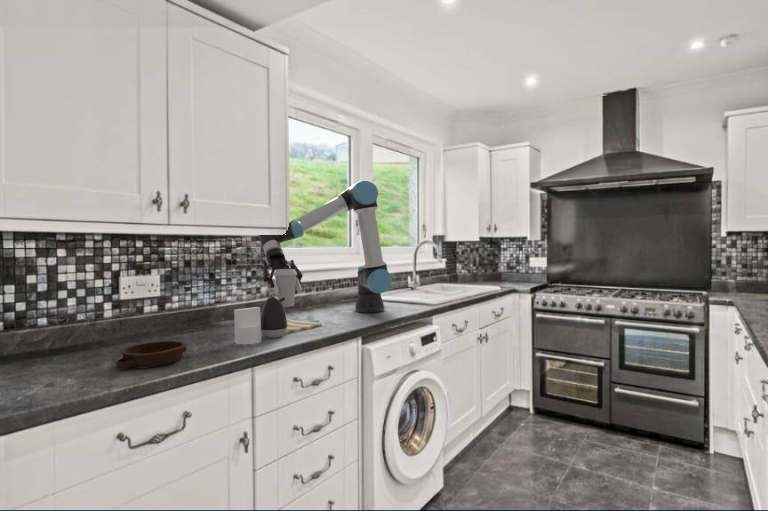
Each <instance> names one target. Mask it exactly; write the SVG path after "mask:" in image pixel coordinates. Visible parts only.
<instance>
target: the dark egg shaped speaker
mask: <svg viewBox="0 0 768 511" xmlns="http://www.w3.org/2000/svg"><path fill="white" fill-rule="evenodd" d="M284 300H285V298H284V297H283V298H281V299H278V298H277V297H276V296H270V297H268V298H267V299H266V300H265V302H264V304H263V305H262V306H263V307H262V309H261V311H260V322H261V335H262V336H264V338H267V339H279V338H282V337H283V336H284V335H286V334H285V332H286V328H287V320H288V318H287V314H286V310H285V308H284V307H283V305H282V303H281V302H283V301H284Z"/></svg>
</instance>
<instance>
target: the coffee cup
mask: <svg viewBox="0 0 768 511" xmlns="http://www.w3.org/2000/svg"><path fill="white" fill-rule="evenodd" d="M296 275H297V272H296V270H295V269H278V270H275V272H274V275H273V276H274V279H275V281H276V284H277V287H278V290H279V292H278V294H277V295H276V296H277V298H278V299H281V298H283V297H284V298H285V300H284V301H283V302H281V303H282V305H283V307H285V308H286V307H287V308H288V307H294V306H295V299H296V298H295V297H296V286H295V285H296Z"/></svg>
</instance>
